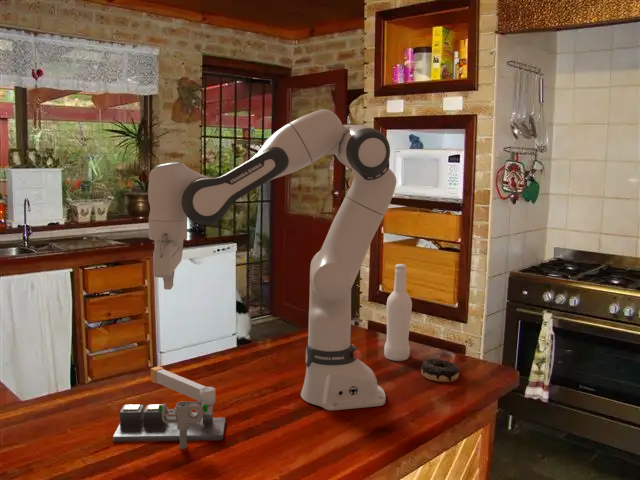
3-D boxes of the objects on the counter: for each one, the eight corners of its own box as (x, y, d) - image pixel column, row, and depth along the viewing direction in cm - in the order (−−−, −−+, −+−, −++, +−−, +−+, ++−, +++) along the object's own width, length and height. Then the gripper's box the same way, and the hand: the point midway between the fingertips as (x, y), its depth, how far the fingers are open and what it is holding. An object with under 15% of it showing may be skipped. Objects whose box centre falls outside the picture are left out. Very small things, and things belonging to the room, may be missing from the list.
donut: (422, 382, 177) (422, 369, 177) (419, 367, 189) (419, 355, 188) (461, 384, 176) (462, 371, 176) (456, 369, 188) (456, 357, 188)
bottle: (408, 362, 192) (413, 267, 188) (382, 360, 194) (386, 266, 189) (410, 354, 200) (415, 263, 196) (385, 352, 202) (389, 261, 197)
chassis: (225, 422, 148) (225, 400, 147) (222, 440, 139) (222, 416, 139) (122, 423, 146) (121, 400, 145) (113, 441, 137) (112, 417, 137)
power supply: (166, 418, 147) (166, 403, 146) (164, 425, 143) (163, 410, 142) (147, 418, 147) (146, 403, 146) (143, 426, 143) (143, 410, 142)
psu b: (143, 418, 146) (143, 403, 146) (140, 426, 143) (140, 410, 142) (124, 418, 146) (123, 403, 145) (120, 426, 142) (119, 410, 142)
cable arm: (218, 402, 145) (218, 388, 145) (206, 407, 143) (206, 393, 142) (160, 378, 159) (160, 365, 159) (148, 381, 157) (148, 369, 156)
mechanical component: (160, 444, 137) (160, 401, 135) (207, 443, 138) (207, 400, 136) (158, 451, 134) (157, 407, 132) (206, 450, 135) (206, 406, 133)
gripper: (175, 238, 137) (175, 299, 139) (186, 225, 157) (187, 279, 159) (146, 237, 137) (147, 298, 139) (161, 225, 157) (162, 278, 159)
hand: (168, 288), depth 149 cm, fingers closed
